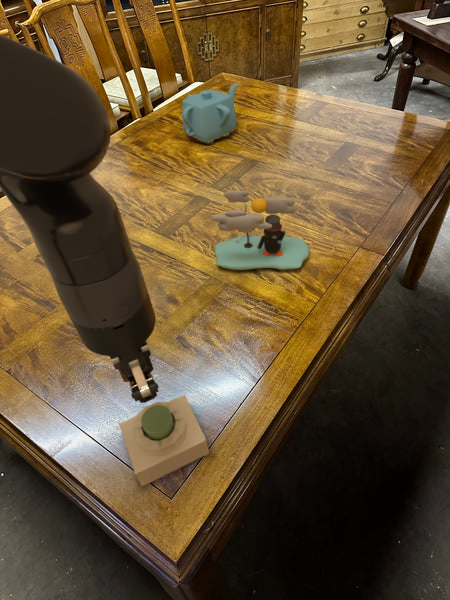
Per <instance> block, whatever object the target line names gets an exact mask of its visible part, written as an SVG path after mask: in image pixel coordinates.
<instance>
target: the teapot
mask: <svg viewBox="0 0 450 600" xmlns="http://www.w3.org/2000/svg"><path fill="white" fill-rule="evenodd" d="M239 85H240V83H234V84H233V85H231V86H230V87H229V90H228V93H225V92H223V91H219V90H215V89H204V90H202V91H201V92H199V93H196V94H188V95H187V96H186V98H185V99H183V100H182V101H181V118H182V119H181V121H182V128H183V131H184V133H185V135H186V134H187V135H186V136H188V137H190V136H192V137H194V138H196V139H198V140H197V141H199V140H200V141H199V142H201V141H203V142H207V143H206V144H208V145H210V144H213V143H214V142H215V140H213V139H216V138H218V137H221V136H223V135H225V134H227V133H229V132H231V131H232V130H234V129H235V128H236V129H237V124H238V120H237V114H236V108H235V107H236V106H235V93H236V90H237V88H238V87H239ZM234 131H235V130H234ZM231 133H232V132H231ZM229 136H230V133H229V134H227V135H225V136H223V137H221V138H227V137H229ZM192 137H191V138H192ZM194 138H193V139H194ZM196 139H195V140H196ZM218 139H219V138H218ZM211 140H213V141H211ZM216 140H217V139H216ZM208 141H210V142H208ZM203 142H202V143H203Z"/></svg>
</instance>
